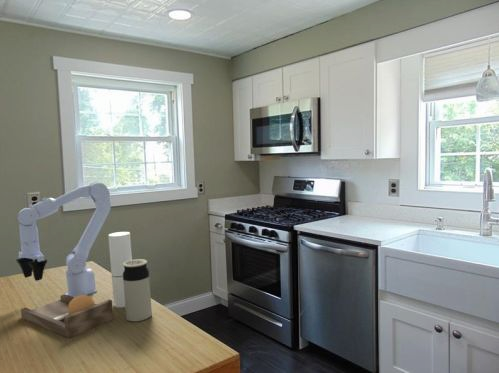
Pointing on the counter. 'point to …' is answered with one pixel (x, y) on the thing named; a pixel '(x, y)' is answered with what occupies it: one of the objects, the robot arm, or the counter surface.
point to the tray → (68, 316)
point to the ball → (80, 303)
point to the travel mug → (137, 290)
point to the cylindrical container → (119, 263)
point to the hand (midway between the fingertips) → (33, 278)
